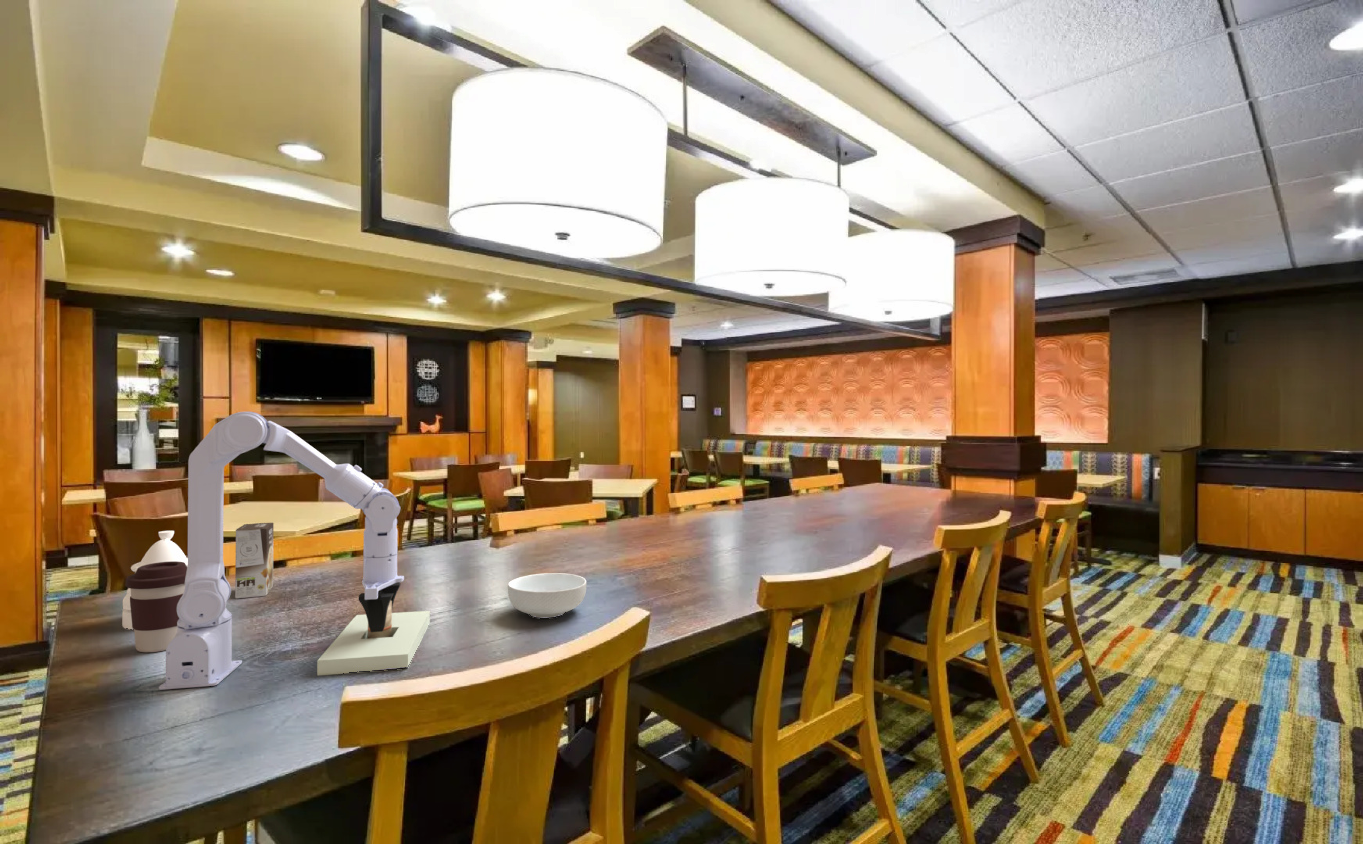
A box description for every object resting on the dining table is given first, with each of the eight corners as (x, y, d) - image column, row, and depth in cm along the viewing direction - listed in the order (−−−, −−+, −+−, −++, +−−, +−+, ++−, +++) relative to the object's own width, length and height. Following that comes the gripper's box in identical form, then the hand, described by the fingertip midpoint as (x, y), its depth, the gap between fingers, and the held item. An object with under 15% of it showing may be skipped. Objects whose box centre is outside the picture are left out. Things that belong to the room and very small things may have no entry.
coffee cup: (140, 640, 119) (140, 561, 119) (203, 634, 123) (203, 557, 122) (114, 659, 110) (115, 573, 110) (183, 652, 113) (183, 569, 113)
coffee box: (267, 596, 148) (267, 528, 148) (234, 599, 145) (234, 530, 145) (273, 586, 156) (274, 521, 156) (242, 589, 154) (243, 523, 153)
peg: (388, 643, 116) (388, 605, 116) (364, 644, 115) (365, 606, 115) (393, 635, 120) (394, 599, 120) (371, 636, 119) (371, 600, 119)
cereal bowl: (598, 605, 144) (598, 575, 144) (565, 629, 128) (566, 595, 128) (531, 599, 149) (531, 569, 149) (492, 621, 133) (492, 587, 133)
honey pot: (133, 614, 134) (133, 530, 133) (208, 606, 140) (208, 526, 139) (112, 633, 122) (112, 541, 122) (194, 624, 128) (195, 536, 128)
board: (407, 668, 108) (407, 654, 107) (317, 675, 104) (317, 660, 104) (429, 622, 131) (429, 610, 131) (356, 627, 128) (356, 615, 128)
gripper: (395, 562, 111) (394, 639, 111) (410, 545, 125) (410, 613, 125) (351, 564, 110) (351, 642, 110) (372, 547, 124) (371, 615, 124)
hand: (380, 627), depth 118 cm, fingers closed on peg, 4 cm apart
